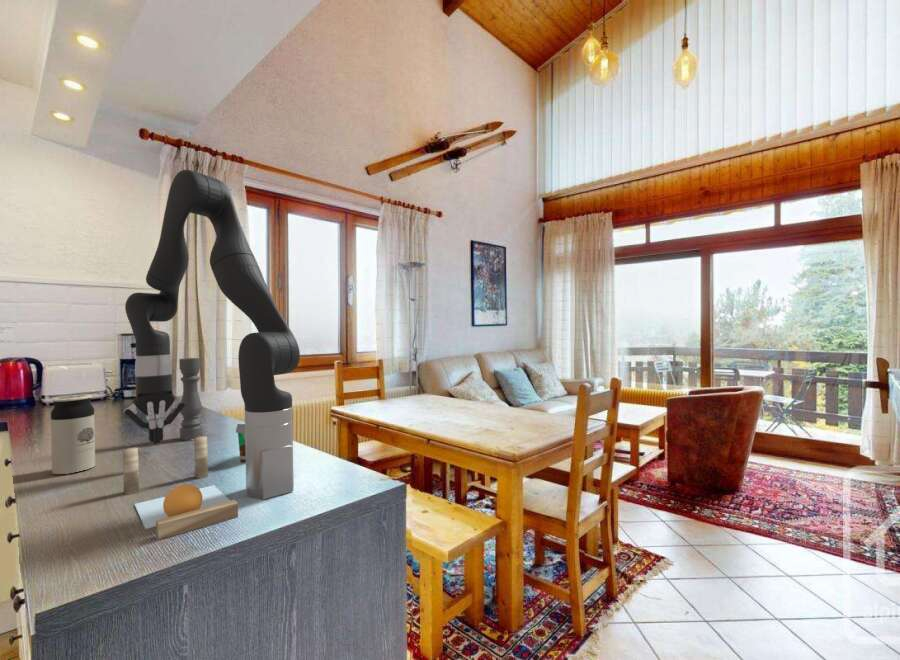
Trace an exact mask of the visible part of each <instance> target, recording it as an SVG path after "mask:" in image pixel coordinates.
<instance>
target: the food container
mask: <svg viewBox="0 0 900 660" xmlns="http://www.w3.org/2000/svg"><path fill="white" fill-rule="evenodd" d="M235 428H236V429H235V433H237V438H238V440H237V442H238V450H239V461H240V463H246V453H245V423H237V425H236V427H235Z"/></svg>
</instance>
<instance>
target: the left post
mask: <svg viewBox="0 0 900 660" xmlns="http://www.w3.org/2000/svg"><path fill="white" fill-rule="evenodd" d="M139 467H140V465H139V447H137V446H136V447H135V446H134V447H128V448H125V449H123V450H122V470H123V471H122V477H123V494H124V495H131V494H135V493H137V492H139V491H140V475H139V473H140V470H139Z"/></svg>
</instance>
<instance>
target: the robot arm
mask: <svg viewBox="0 0 900 660" xmlns="http://www.w3.org/2000/svg"><path fill="white" fill-rule="evenodd" d="M190 214H194V215H198V216H203V217H205V218H207V219H208V220H209V221H210V222H211V225H212V227H213V229H214V232H215V235H216V237H215V240H214V244H213V246H212V248H211V252H210V256H209V265H210V268H211V271H212V273H213V276H214V278H215V281H216V283H217V285H218V287H219V289H220V291H221V292H222V293H223V295H224V296H225V297H226V298H227V299H228V300H229V301H230V302H231V303H232V304H233V305H234V306H236V307H237V308H238V309H239V310H240V312H241V311H242V313H243V314H244V315H246V316H247V318H248V319H249V321H251V322H252V324H253V325H254V327H255V328H256V330H257V332H252V333H248V334H246V335H245V336H244V337H243V339H242V340H241V342H240V344H239V348H238V358H237V359H238V372H239V383H240V385H239V386H240V395H241V398H242V400H243V403H244V424H245V453H246V462H245V491H246V492H245V494H246V495H247V496H248V497H251V498H255V499H257V498H259V499H262V500H266V499H269V498H274V497H277V496H280V495H284V494H287V493H292V492H294V478H295V477H294V439H293V438H294V437H293V434H294V433H293V431H294V430H293V396H292V394H291V393H290V392H288V391H285V390H281V389H279V388H278V386H277V385H276V382H275V376H279V375H285V374H290V373H292V372H294V371H295V370H296V369H297V368H298V366H299V363H300V359H301V357H300V356H301V353H300V352H301V351H300V347H299V343H298V342H297V339H296V337H295V336H294V334H293V332H292V330H291V329H290V326H289V324H288V323H287V321H286V320H285V318H284V316H283V315H282V313H281V311H280V310H279V308H278V306H277V304H276V302H275V300H274V298H273V296H272V294H271V292H270V289H269V287H268V285H267V283H266V281H265V278H264V276H263V272H262V270H261V268H260V266H259V264H258V261H257V259H256V257H255V255H254V253H253V251H252V249H251V247H250V243H249V242H248V240H247V237H246V235H245V232H244V229H243V228H242V226H241V222H240V219H239V216H238V212H237V209H236V207H235V202H234V199H233V197H232V193H231V192H230V189H229V187H228V186H227V185H226V184H225V183H224V182H223V181H221V180H220V179H217V178H214V177H213V176H210V175H206V174H204V173H200V172H197V171H194V170H191V169H182V170H180V171H178V172H177V174H176V175H174V178H173V180H172V181H171V185H170V188H169V191H168V195H167V200H166V203H165V210H164V214H163V219H162V224H161V230H160V235H159V241H158V244H157V248H156V251H155V253H154V255H153V258H152V260H151V263H150V266H149V267H148V271H147V272H146V273H147V274H146V277H145V281H146V284H147V285H148V287H150V288H152V289H154V290H156V291H159V293H151V292H134V293H132V294H130V295H129V296H128V297H127V299H126V302H125V306H124V307H125V308H124V309H125V314H126V317H127V320H128V323H129V324H130V328H131V330H132V334H133V336H134V340H135V363H134V369H135V370H134V378H135V398H134V399H133V404H131V405H130V406H129V407H125V408H124V409H123V413H124V414H125V415H126V416H127V417H129V419H131V420H132V421H133V422H134V423H135V424H136V425H138V426H139V427H140V428H141V429H147V430H148V432H147V434H148V441H149V442H150V443H151V444H153V445H158V444H160V443H161V441H163V439H164V427H165V426H168V425H170V424H172V423H173V422H174V420H175V418H176V417H178V415H179V414H180V411H181V410H182V409H183V407H184V406H185V404H184V403H182V402H181V401H179V400H178V399H176V396H175V395H174V390H173V365H172V358H171V340H170V339H171V337H170V335H169V333H167V332H166V331H161V330H157V329H155V328H154V327H153V325H152V322H156V323H157V322H158V323H159V322H161V323H163V322H168V321H170V320H172V319H173V318H174V317H175V316H176V314H177V313H178V309H179V308H178V307H179V293H180V286H181V283H182V281H183V278H184V276H185V274H186V271H187V269H188V267H189V260H190V257H189V256H190V255H189V250H188V246H187V243H186V237H185V225H186V224H185V223H186V221H187V219H188V216H189V215H190ZM170 407H172V410H171V411H170V412H169V413H168V415H167V416H166V418H165V414H166V412H167V411H168V410H169V409H170ZM137 409H138V410H139V411H140V413H142V414H143V415H145V417H146V421H143V420H142V419H141V418H140V417H139V416H138V415H137V413H138V410H137ZM155 416H156V420H155Z"/></svg>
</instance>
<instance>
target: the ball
mask: <svg viewBox="0 0 900 660" xmlns="http://www.w3.org/2000/svg"><path fill="white" fill-rule="evenodd" d="M199 489H200V488H198V487H197V486H195V485H193V484H189V483H187V484H186V483H183V484H180V485H177V486H175V487H174V488H172V489H170V490H169V492H168V493H167V494H166V495H165V496H164V497H165V499H164V503H163V509H164V512H165V513H166V515H167V516H168V517H172V516H175V515H179V514H183V513H187V512H190V511H194V510H198V509H199V508H200V507H201V504H202V493H201V491H200V490H199Z"/></svg>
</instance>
